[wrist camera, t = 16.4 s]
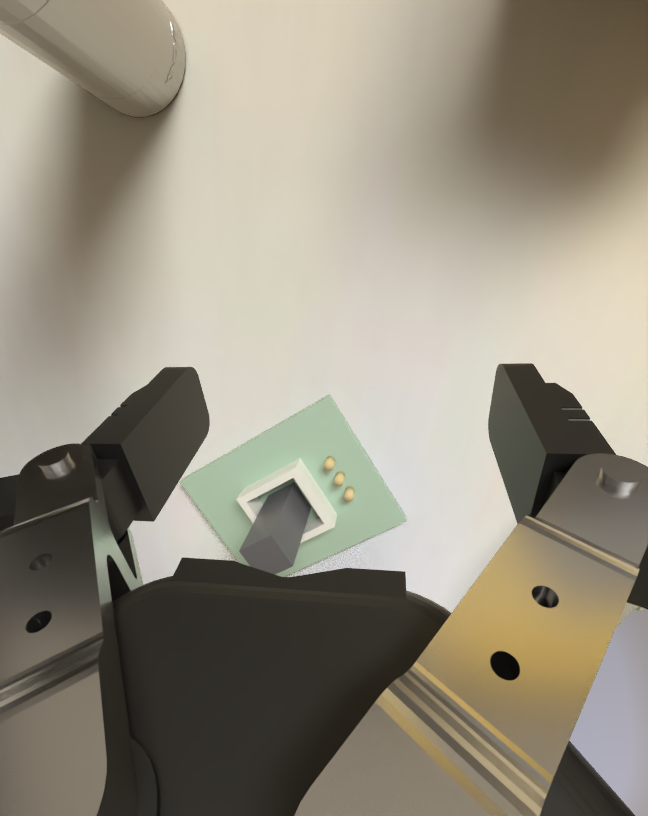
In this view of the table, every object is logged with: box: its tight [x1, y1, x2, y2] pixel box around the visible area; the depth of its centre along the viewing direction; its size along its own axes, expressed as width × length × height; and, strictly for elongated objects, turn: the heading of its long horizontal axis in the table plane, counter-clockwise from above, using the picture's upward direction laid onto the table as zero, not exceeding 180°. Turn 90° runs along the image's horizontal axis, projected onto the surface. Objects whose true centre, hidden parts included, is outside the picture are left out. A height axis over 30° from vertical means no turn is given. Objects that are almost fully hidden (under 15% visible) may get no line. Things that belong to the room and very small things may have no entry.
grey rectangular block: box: [239, 482, 311, 574], centre depth 41 cm, size 4×4×10 cm
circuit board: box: [180, 394, 406, 577], centre depth 45 cm, size 20×16×4 cm
